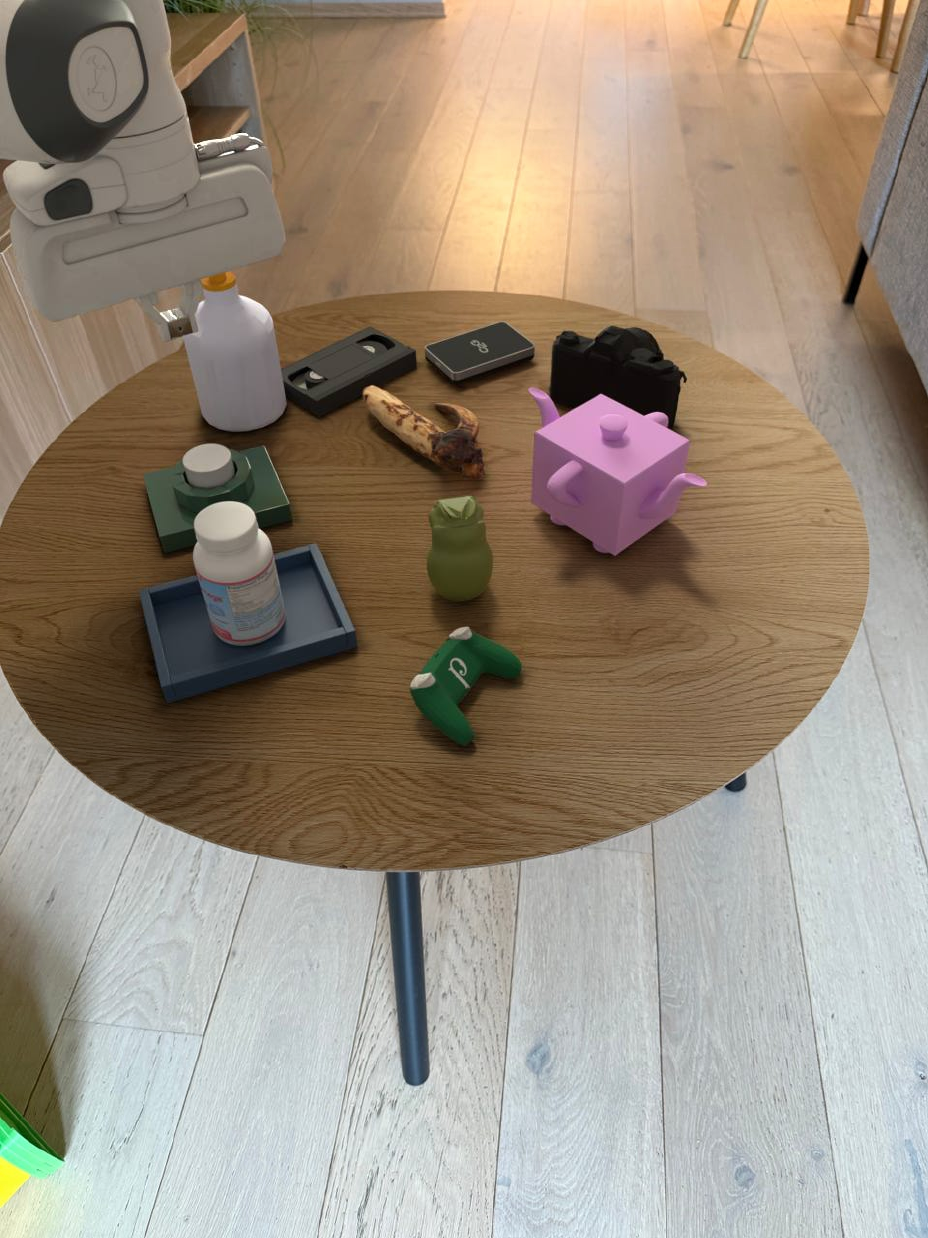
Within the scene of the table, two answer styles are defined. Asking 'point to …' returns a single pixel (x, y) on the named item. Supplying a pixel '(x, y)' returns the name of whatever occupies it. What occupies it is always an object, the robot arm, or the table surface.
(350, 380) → the vhs tape
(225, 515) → the pill bottle
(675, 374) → the film camera
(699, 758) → the table surface
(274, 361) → the soap bottle
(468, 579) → the green figurine
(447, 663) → the gaming controller
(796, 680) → the table surface
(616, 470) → the teapot
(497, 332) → the external hard drive
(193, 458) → the white short cylinder
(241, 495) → the button base
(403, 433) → the bone fish hook
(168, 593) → the dish
